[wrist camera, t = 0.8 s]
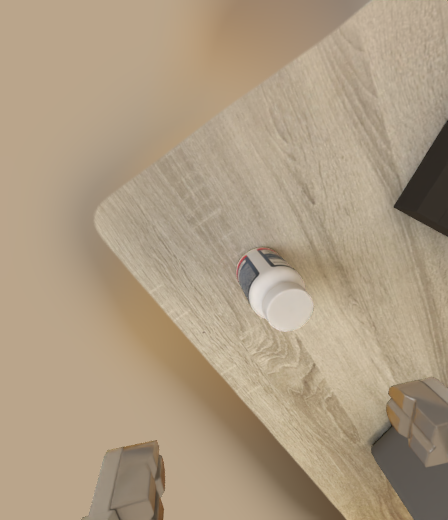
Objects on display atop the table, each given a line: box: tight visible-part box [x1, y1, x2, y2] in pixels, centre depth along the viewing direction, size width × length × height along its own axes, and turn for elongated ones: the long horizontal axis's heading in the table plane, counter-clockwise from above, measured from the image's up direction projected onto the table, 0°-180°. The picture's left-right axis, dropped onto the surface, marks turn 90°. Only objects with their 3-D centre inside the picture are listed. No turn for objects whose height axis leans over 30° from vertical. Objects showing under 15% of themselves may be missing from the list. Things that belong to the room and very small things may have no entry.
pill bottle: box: [236, 247, 314, 332], centre depth 25 cm, size 5×5×9 cm
